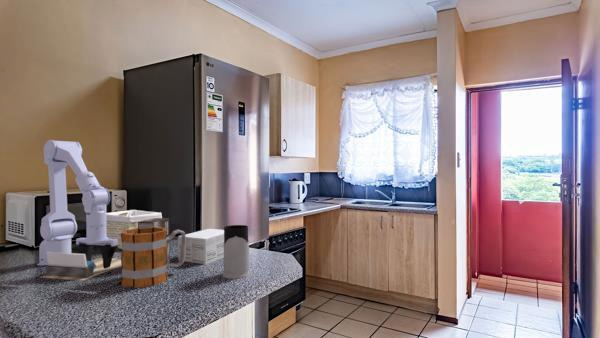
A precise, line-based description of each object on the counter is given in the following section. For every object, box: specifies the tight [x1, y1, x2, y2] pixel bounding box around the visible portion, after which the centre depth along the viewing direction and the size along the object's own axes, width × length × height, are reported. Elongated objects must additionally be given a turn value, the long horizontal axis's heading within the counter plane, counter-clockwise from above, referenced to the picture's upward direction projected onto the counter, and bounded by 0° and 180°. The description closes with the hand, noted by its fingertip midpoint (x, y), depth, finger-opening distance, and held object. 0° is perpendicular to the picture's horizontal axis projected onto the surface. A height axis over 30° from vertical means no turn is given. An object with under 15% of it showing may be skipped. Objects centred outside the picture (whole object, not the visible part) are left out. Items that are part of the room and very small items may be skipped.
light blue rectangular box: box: [87, 260, 97, 270], centre depth 113 cm, size 8×2×2 cm
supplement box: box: [177, 228, 224, 265], centre depth 133 cm, size 17×13×9 cm
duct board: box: [40, 257, 122, 281], centre depth 118 cm, size 16×24×4 cm, turn 167°
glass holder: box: [222, 224, 252, 280], centre depth 113 cm, size 9×14×15 cm, turn 9°
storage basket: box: [106, 209, 163, 250], centre depth 155 cm, size 24×16×15 cm
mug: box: [120, 227, 186, 289], centre depth 108 cm, size 20×14×15 cm
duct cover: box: [46, 252, 88, 268], centre depth 108 cm, size 14×4×1 cm
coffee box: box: [138, 217, 171, 263], centre depth 122 cm, size 9×6×16 cm
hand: (97, 267), depth 115 cm, fingers open, 7 cm apart
